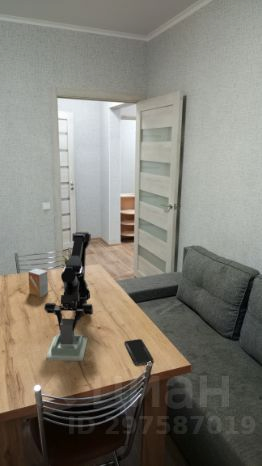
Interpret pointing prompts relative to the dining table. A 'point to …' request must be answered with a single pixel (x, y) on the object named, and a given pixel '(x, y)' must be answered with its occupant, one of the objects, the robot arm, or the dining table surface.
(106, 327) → the dining table surface
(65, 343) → the connector plug
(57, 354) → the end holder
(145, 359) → the phone
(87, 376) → the dining table surface
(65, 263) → the house plant
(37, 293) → the small box
